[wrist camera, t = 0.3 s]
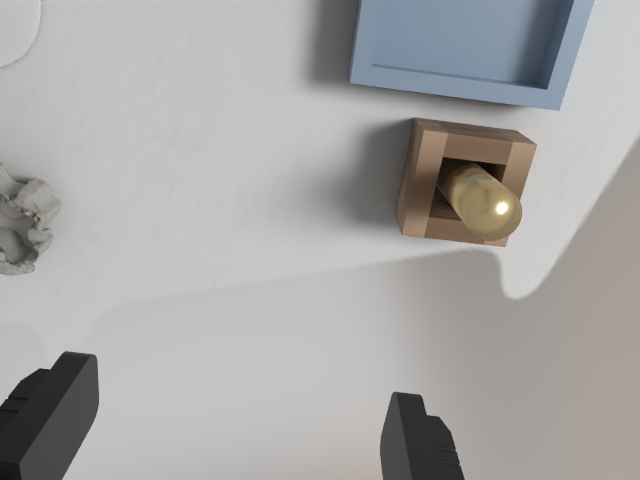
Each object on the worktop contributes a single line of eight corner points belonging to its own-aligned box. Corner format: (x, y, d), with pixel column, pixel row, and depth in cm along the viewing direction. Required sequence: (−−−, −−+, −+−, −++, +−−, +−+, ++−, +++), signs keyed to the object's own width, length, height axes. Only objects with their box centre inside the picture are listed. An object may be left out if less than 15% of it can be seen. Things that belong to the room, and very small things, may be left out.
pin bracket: (414, 117, 37) (424, 130, 34) (516, 130, 38) (536, 144, 34) (395, 213, 41) (402, 234, 37) (489, 225, 41) (505, 247, 37)
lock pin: (438, 150, 38) (473, 184, 29) (480, 156, 38) (529, 192, 29) (429, 191, 40) (460, 236, 30) (469, 196, 40) (513, 244, 30)
